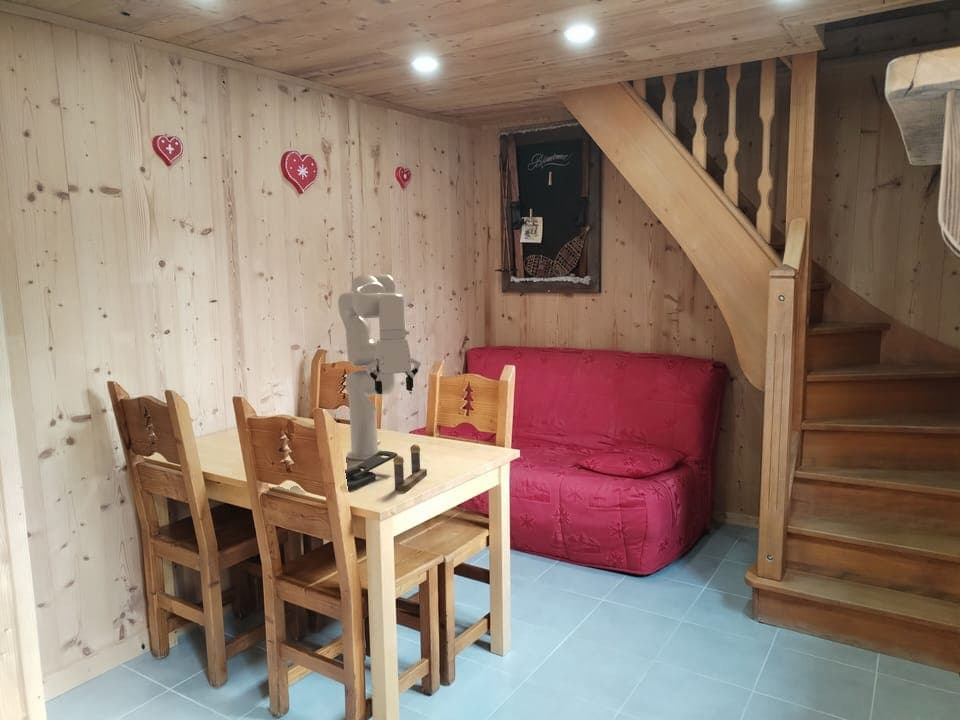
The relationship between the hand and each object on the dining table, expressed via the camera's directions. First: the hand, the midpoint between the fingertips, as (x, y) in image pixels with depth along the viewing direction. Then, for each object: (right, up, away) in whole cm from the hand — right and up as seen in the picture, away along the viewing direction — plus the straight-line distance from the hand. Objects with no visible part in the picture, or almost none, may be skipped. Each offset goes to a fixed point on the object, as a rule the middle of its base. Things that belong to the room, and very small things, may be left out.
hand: (394, 392), depth 201 cm
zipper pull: (-11, -29, +14) cm, 34 cm away
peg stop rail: (+3, -29, +10) cm, 31 cm away
